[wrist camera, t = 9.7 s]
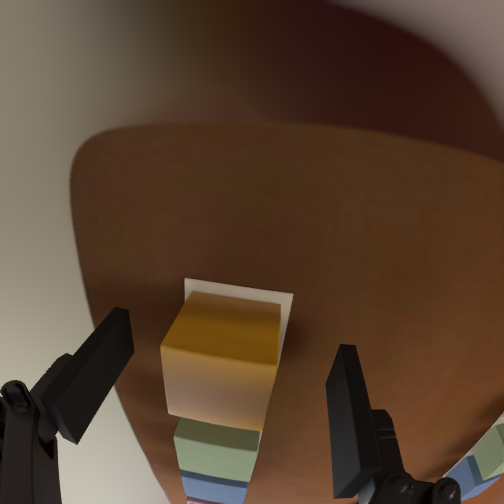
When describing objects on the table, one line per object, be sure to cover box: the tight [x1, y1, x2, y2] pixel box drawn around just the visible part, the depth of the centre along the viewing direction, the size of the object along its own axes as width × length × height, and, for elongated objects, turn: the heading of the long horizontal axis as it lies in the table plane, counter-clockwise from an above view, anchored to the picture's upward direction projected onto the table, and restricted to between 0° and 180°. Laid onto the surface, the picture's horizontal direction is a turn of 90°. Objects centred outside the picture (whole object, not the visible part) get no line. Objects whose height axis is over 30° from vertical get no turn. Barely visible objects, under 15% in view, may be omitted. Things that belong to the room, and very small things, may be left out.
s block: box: [160, 291, 281, 431], centre depth 13 cm, size 4×4×4 cm
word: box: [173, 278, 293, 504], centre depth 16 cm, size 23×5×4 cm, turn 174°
